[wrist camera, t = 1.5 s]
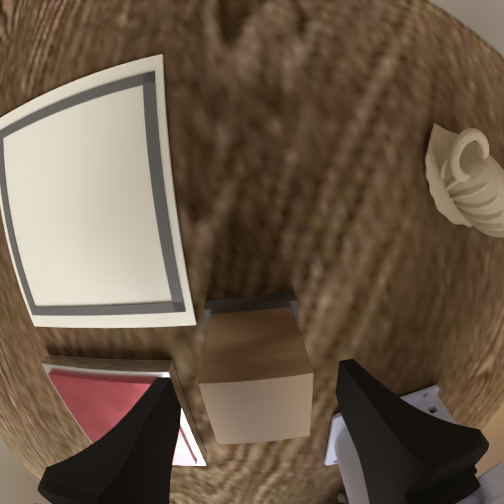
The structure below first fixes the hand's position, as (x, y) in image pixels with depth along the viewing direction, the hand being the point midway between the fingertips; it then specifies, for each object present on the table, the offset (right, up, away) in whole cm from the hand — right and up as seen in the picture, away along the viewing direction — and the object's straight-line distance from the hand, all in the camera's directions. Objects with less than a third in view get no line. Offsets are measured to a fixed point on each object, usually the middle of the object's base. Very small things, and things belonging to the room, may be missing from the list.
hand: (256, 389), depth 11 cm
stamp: (0, +1, +4) cm, 5 cm away
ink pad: (-9, -6, +6) cm, 13 cm away
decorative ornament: (+11, +10, +2) cm, 15 cm away
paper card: (-10, +8, +2) cm, 13 cm away
